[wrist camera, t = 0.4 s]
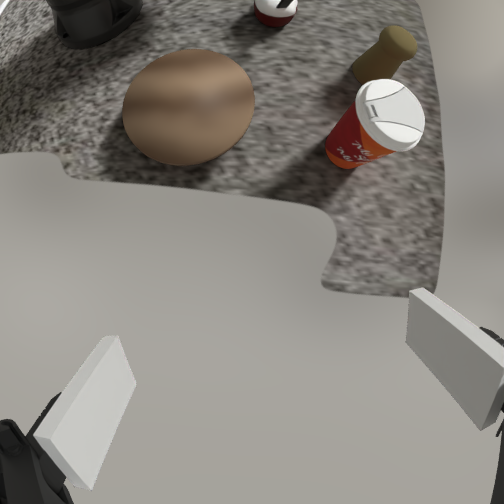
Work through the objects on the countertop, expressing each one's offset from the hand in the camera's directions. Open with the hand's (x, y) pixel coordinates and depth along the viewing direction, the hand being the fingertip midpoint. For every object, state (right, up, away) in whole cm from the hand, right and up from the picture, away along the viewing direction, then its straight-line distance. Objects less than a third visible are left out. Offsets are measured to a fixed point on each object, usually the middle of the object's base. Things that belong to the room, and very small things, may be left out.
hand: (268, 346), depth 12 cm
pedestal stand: (-8, +21, +23) cm, 32 cm away
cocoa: (+2, +39, +24) cm, 46 cm away
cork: (+17, +31, +25) cm, 43 cm away
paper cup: (+12, +17, +25) cm, 33 cm away
